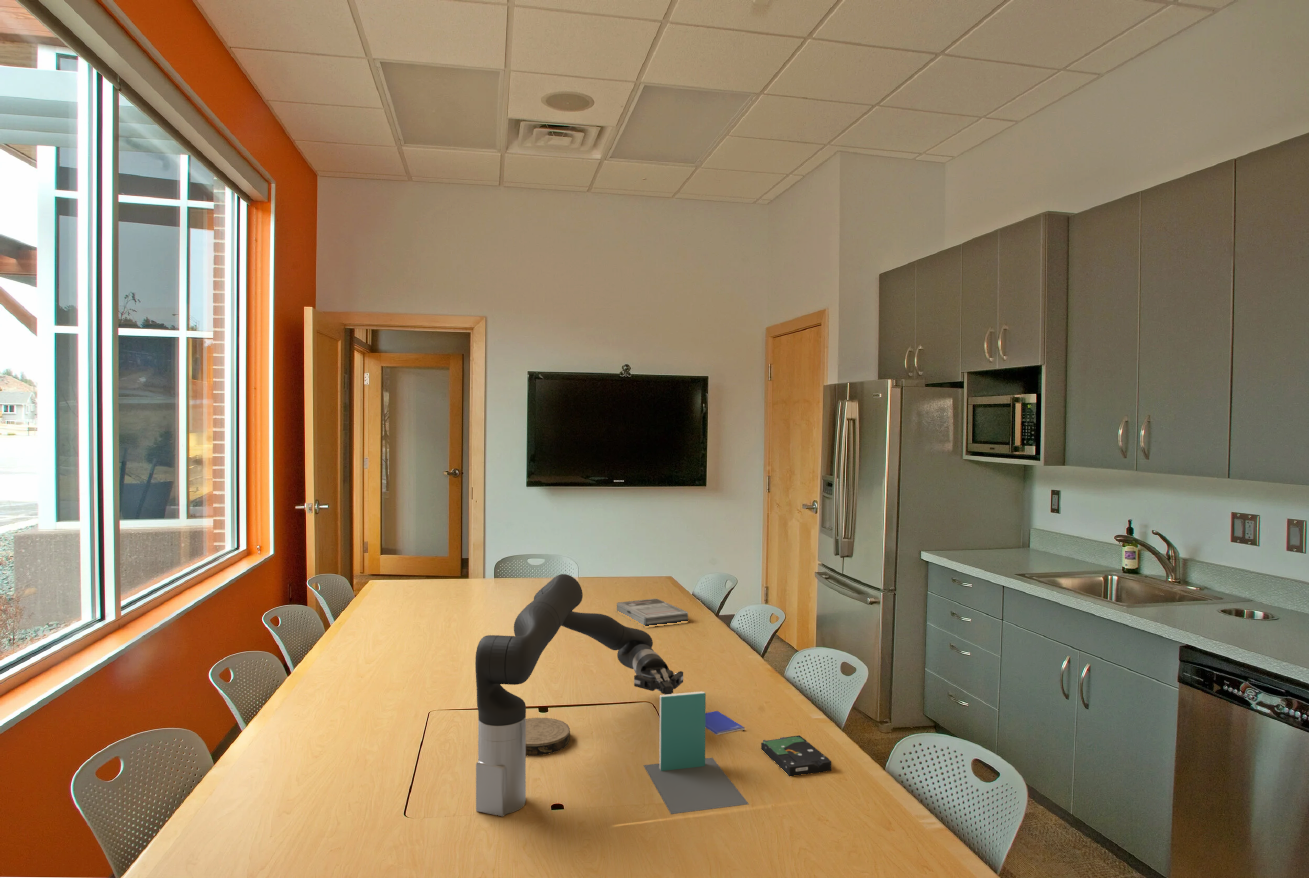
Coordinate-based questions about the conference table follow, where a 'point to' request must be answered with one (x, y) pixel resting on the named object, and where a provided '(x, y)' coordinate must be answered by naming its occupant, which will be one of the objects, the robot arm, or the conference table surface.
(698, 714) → the tile
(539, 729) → the brown round disc
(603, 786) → the conference table surface
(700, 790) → the mat
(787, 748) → the disk drive
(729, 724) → the hard drive
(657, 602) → the hard drive
